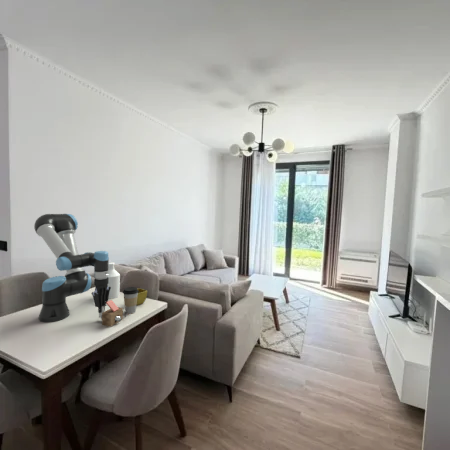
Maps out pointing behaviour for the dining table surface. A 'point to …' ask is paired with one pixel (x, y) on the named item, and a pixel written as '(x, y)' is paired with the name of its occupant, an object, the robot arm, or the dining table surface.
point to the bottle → (113, 282)
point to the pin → (116, 318)
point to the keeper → (112, 305)
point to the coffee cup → (130, 299)
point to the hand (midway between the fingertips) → (101, 317)
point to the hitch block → (111, 317)
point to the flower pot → (141, 296)
